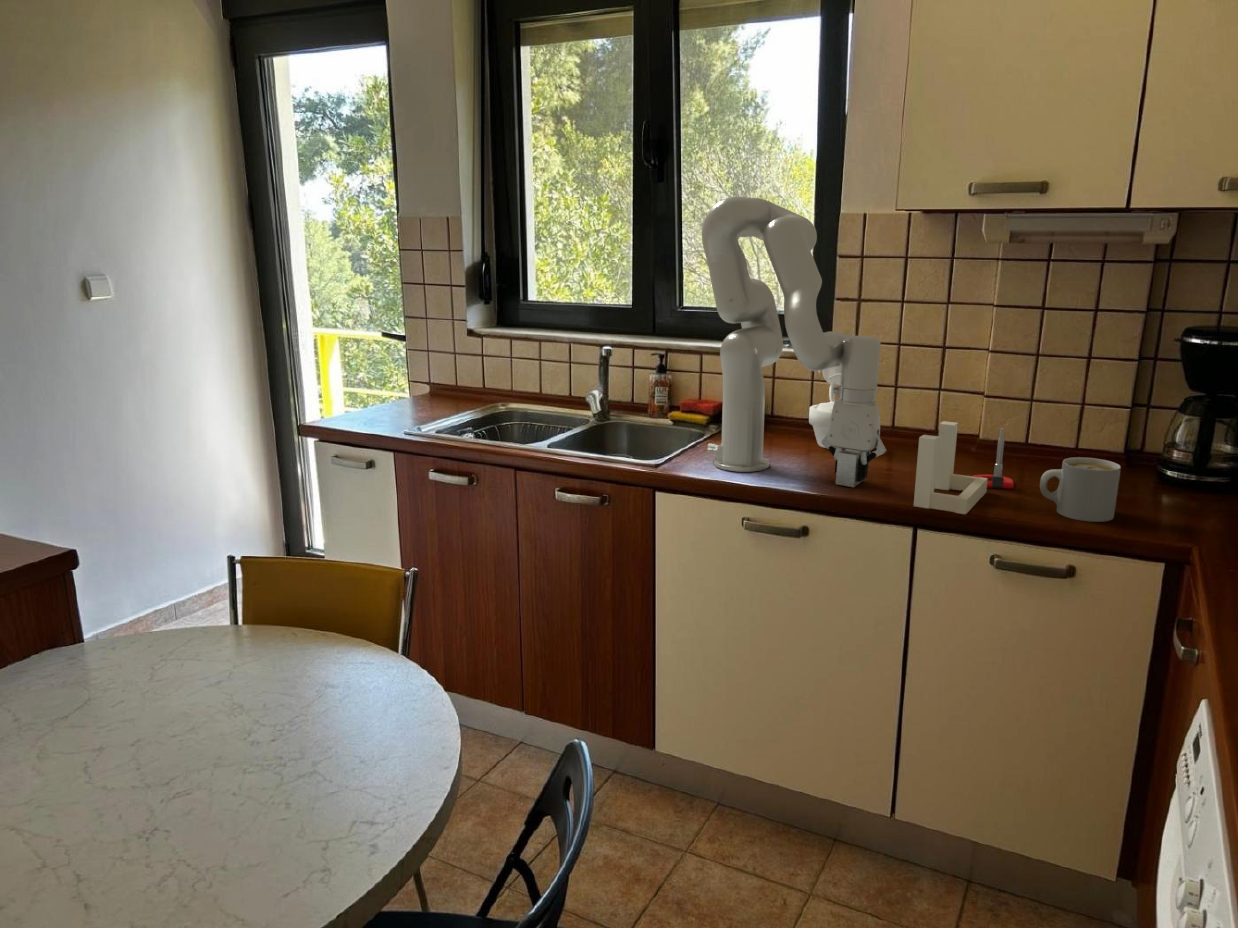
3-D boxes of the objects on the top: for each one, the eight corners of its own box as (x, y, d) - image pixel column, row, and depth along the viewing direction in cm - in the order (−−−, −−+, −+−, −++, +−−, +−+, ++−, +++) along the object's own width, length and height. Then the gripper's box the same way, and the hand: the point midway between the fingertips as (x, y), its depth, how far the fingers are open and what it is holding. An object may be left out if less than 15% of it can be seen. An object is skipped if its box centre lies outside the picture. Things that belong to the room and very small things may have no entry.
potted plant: (799, 442, 235) (804, 345, 229) (841, 439, 238) (847, 343, 231) (821, 454, 223) (827, 351, 217) (865, 451, 226) (871, 350, 220)
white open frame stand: (913, 506, 182) (919, 437, 179) (937, 484, 197) (943, 421, 193) (965, 514, 177) (972, 444, 174) (986, 492, 192) (993, 426, 188)
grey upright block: (835, 484, 196) (838, 452, 194) (846, 476, 202) (849, 445, 200) (853, 487, 194) (856, 455, 192) (864, 479, 200) (867, 448, 198)
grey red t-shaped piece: (967, 478, 204) (976, 488, 195) (972, 421, 201) (982, 428, 192) (1006, 480, 202) (1018, 490, 193) (1012, 422, 200) (1024, 429, 191)
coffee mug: (1115, 510, 179) (1122, 461, 177) (1112, 524, 171) (1119, 473, 168) (1040, 500, 186) (1046, 452, 183) (1034, 513, 178) (1040, 463, 175)
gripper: (813, 393, 194) (807, 476, 199) (891, 403, 186) (883, 489, 191) (826, 388, 200) (819, 468, 205) (902, 397, 192) (894, 481, 197)
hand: (850, 477), depth 198 cm, fingers closed on grey upright block, 4 cm apart
